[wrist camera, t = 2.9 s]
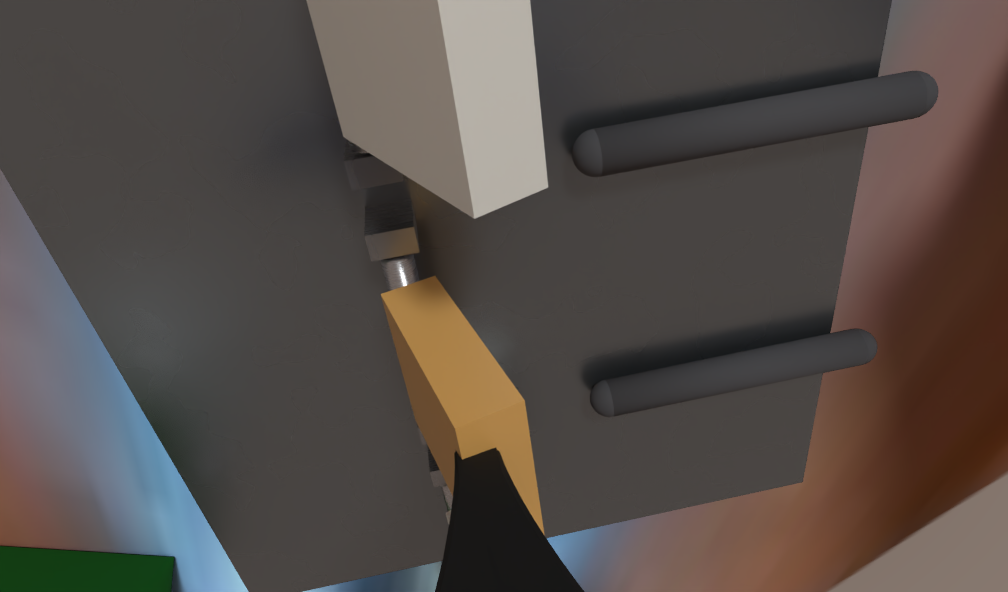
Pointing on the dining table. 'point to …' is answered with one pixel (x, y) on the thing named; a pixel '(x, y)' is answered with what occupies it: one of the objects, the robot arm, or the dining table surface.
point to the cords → (728, 134)
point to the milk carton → (82, 571)
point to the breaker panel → (428, 260)
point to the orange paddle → (458, 387)
